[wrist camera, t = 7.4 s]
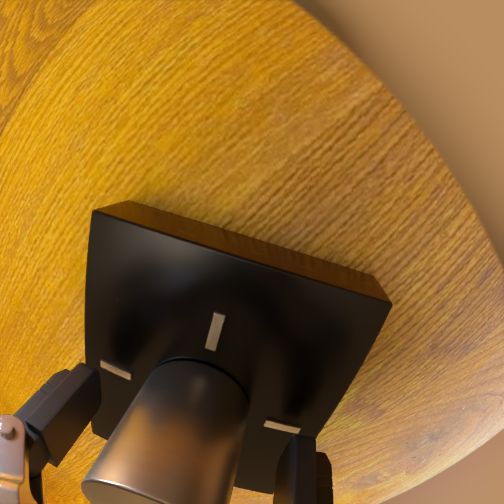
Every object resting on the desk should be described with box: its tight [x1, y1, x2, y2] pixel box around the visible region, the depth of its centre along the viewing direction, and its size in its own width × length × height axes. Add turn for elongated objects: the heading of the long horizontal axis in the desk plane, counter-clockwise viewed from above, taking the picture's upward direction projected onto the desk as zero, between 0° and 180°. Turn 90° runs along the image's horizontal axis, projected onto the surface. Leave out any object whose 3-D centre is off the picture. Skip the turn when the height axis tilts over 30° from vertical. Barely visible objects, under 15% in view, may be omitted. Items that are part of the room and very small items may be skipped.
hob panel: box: [85, 201, 392, 494], centre depth 12 cm, size 12×10×3 cm
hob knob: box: [81, 361, 249, 504], centre depth 8 cm, size 4×4×6 cm
